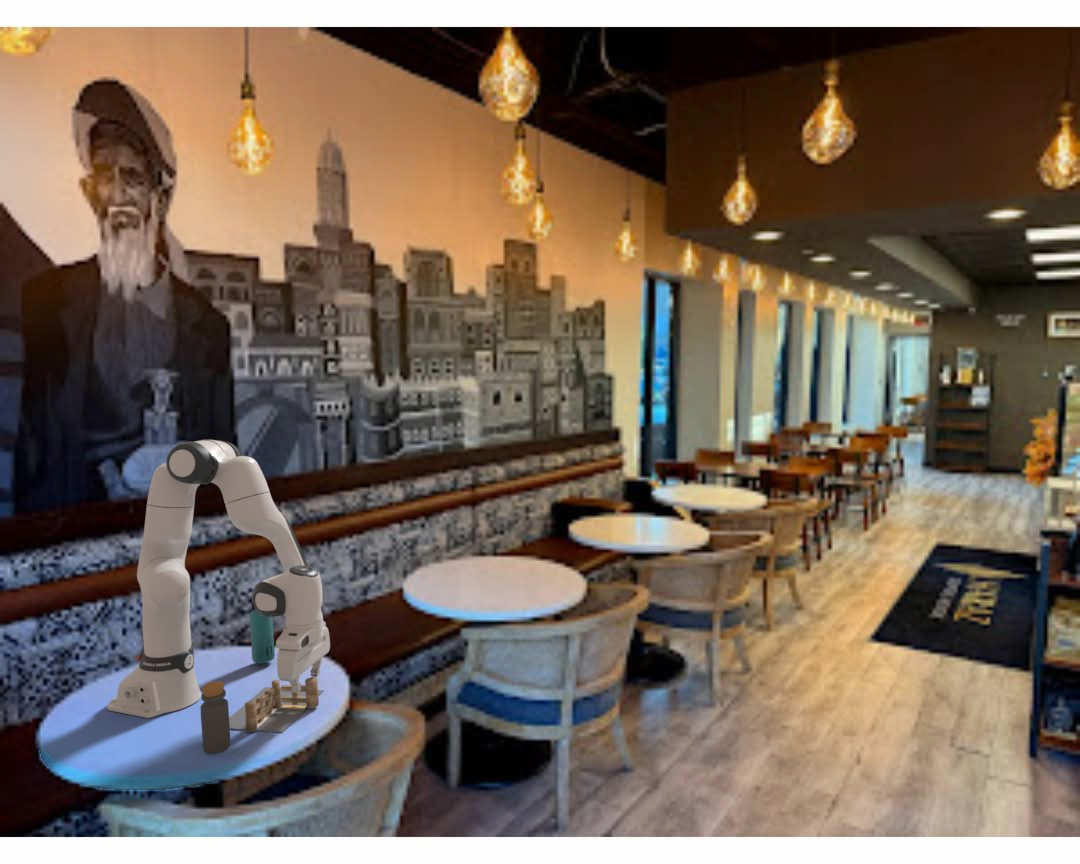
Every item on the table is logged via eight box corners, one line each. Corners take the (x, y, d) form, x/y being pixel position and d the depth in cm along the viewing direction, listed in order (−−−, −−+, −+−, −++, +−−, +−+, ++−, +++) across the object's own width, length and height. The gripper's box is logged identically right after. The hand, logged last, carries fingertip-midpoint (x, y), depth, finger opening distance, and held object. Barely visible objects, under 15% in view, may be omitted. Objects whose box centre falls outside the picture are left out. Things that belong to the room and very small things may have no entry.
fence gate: (285, 701, 186) (283, 676, 186) (320, 702, 186) (319, 677, 185) (280, 707, 184) (278, 681, 183) (315, 708, 183) (314, 682, 182)
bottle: (229, 751, 164) (225, 689, 163) (201, 756, 163) (196, 693, 161) (232, 739, 170) (228, 678, 168) (205, 743, 168) (201, 682, 167)
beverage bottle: (267, 669, 209) (263, 602, 207) (247, 667, 210) (243, 601, 208) (280, 660, 215) (276, 595, 213) (260, 658, 216) (256, 594, 214)
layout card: (217, 728, 175) (217, 727, 175) (265, 688, 196) (265, 686, 196) (282, 732, 172) (282, 731, 172) (323, 691, 194) (323, 689, 194)
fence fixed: (244, 731, 172) (242, 705, 172) (274, 704, 186) (273, 679, 186) (253, 732, 172) (252, 705, 171) (283, 704, 186) (282, 679, 185)
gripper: (313, 616, 192) (314, 666, 193) (271, 644, 172) (273, 700, 173) (335, 617, 190) (336, 667, 192) (295, 646, 170) (297, 702, 172)
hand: (306, 683), depth 182 cm, fingers open, 8 cm apart
